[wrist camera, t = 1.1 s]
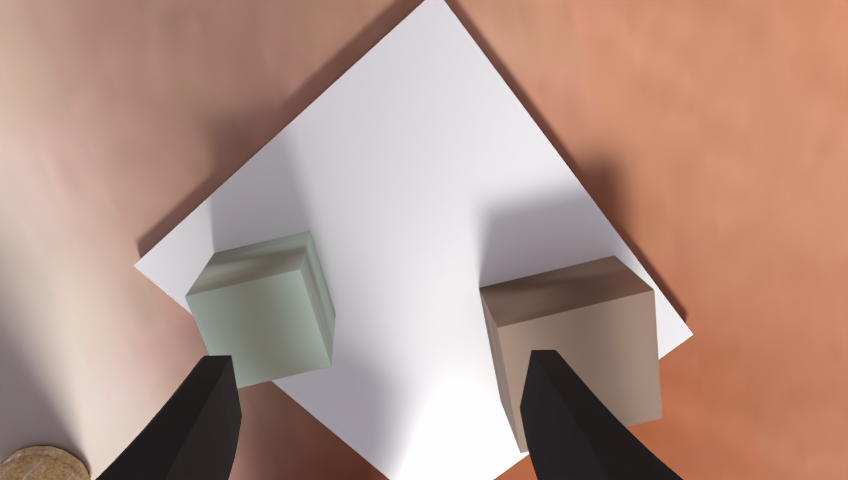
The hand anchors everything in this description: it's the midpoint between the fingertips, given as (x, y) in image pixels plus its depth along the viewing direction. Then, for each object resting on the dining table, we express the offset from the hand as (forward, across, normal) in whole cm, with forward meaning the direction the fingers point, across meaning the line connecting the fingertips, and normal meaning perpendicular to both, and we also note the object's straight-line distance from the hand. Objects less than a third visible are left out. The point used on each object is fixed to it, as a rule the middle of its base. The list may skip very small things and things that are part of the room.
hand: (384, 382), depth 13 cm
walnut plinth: (+12, -9, +8) cm, 17 cm away
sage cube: (+12, +5, +6) cm, 14 cm away
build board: (+13, -3, +7) cm, 15 cm away
